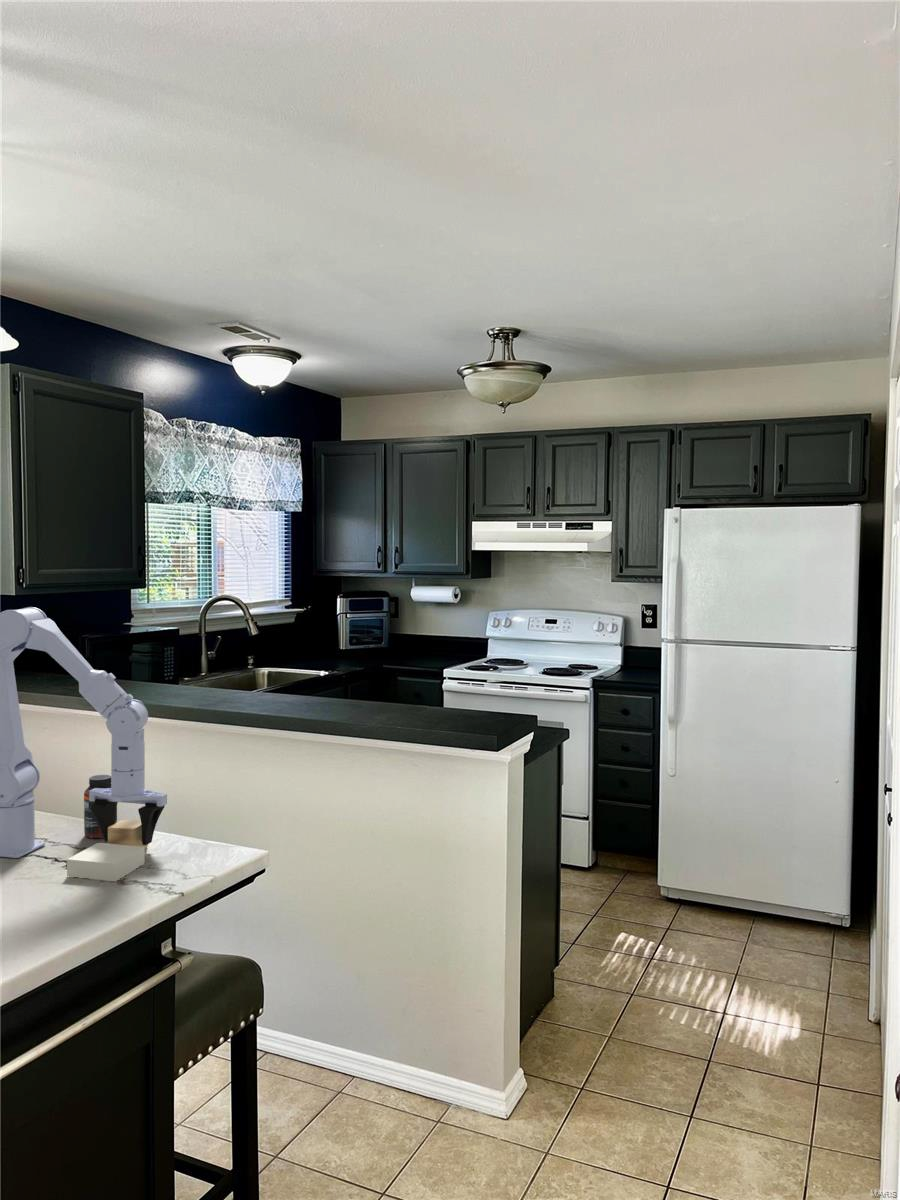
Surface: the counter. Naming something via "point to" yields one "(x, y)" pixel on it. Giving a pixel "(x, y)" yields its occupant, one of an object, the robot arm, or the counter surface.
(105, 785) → the supplement bottle
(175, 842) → the counter surface
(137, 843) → the oak block
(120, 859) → the base block
